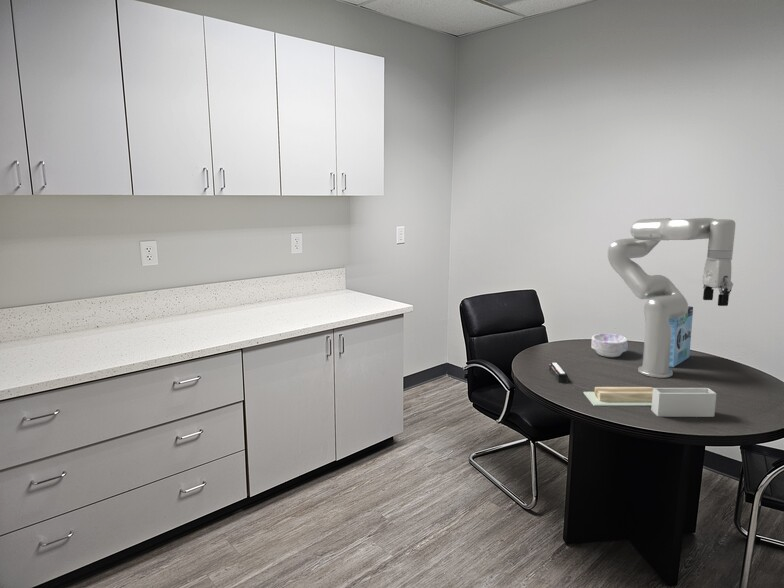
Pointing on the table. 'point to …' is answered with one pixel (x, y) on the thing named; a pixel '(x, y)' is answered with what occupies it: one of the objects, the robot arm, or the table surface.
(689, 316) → the gum box
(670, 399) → the box
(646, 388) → the beige wooden block
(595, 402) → the mat
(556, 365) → the bus
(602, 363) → the table surface
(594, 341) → the paper bowls
